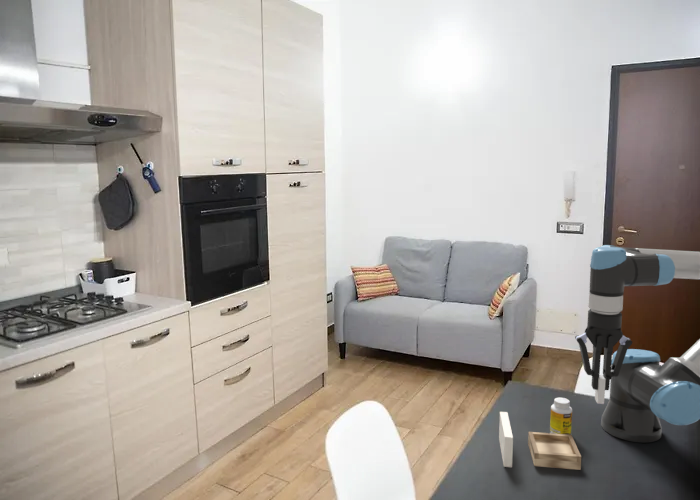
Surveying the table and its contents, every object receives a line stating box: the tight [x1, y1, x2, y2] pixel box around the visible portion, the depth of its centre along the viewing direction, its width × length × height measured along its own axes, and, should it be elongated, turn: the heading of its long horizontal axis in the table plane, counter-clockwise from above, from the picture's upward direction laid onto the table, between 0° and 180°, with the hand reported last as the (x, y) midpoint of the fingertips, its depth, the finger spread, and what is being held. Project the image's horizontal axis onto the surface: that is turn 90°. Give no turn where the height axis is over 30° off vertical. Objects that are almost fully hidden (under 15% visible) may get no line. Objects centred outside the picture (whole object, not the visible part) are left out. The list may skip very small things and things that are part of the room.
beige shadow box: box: [527, 431, 582, 471], centre depth 139 cm, size 11×11×4 cm
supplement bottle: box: [549, 397, 573, 435], centre depth 149 cm, size 6×6×10 cm
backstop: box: [498, 411, 514, 468], centre depth 140 cm, size 2×14×8 cm, turn 169°
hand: (599, 401), depth 134 cm, fingers closed
